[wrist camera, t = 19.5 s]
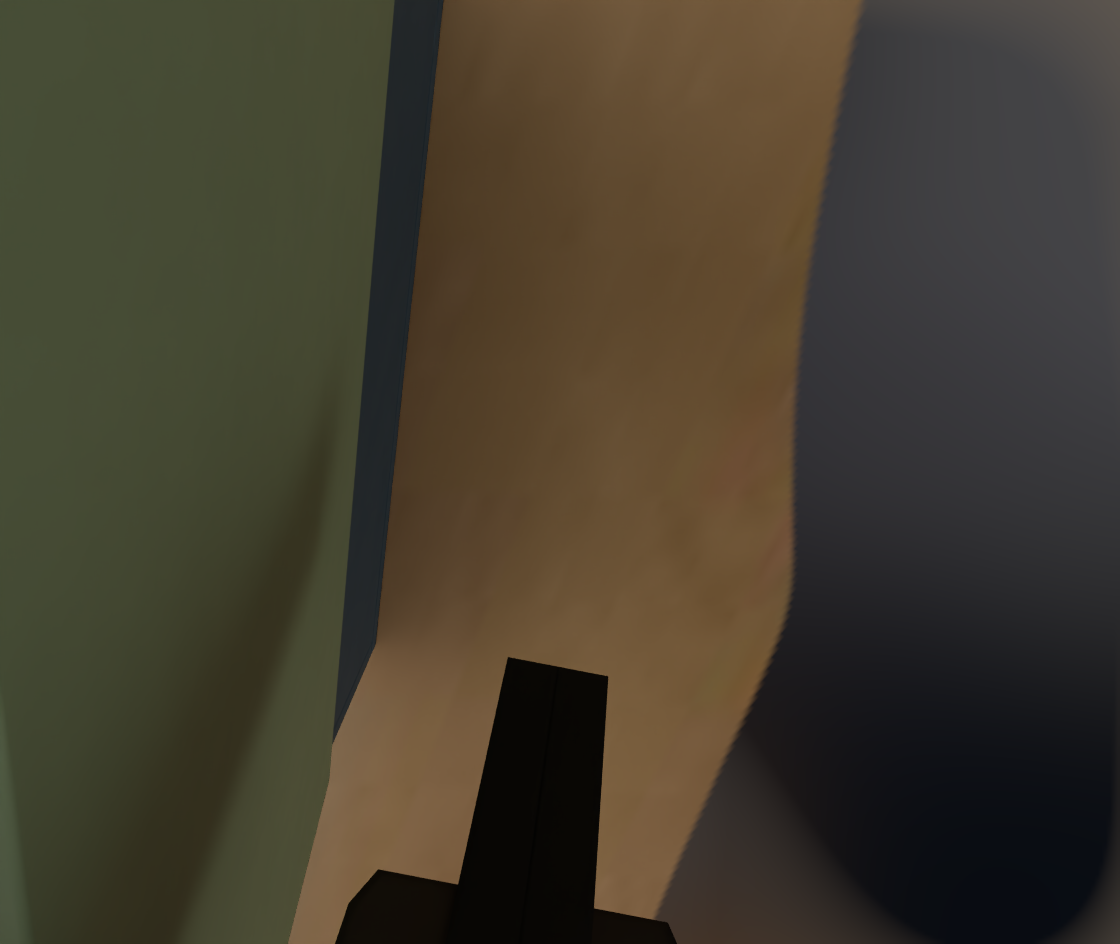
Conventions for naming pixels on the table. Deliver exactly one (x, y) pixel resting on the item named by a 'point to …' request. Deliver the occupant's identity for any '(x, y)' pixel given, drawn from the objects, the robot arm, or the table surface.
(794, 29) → the table surface
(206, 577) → the lunchbox lid
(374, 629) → the box
